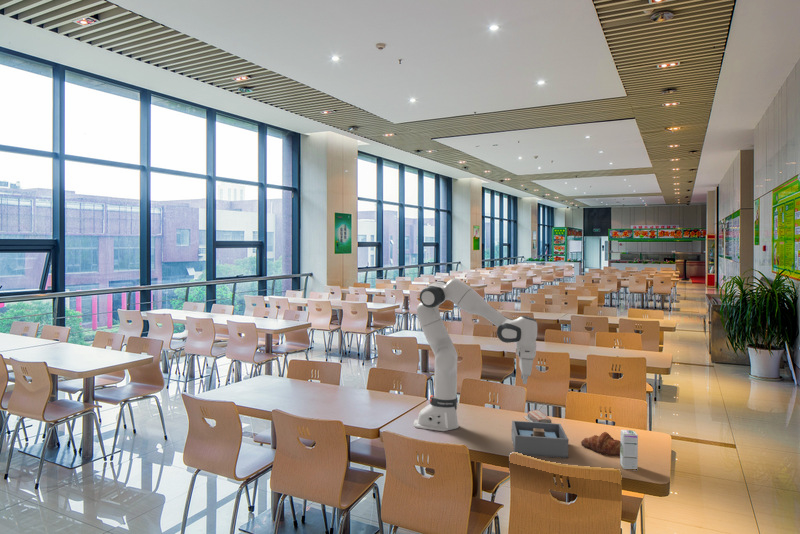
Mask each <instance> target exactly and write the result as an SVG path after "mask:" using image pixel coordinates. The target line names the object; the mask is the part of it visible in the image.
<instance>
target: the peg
mask: <svg viewBox="0 0 800 534" xmlns="http://www.w3.org/2000/svg"><path fill="white" fill-rule="evenodd" d="M533 436H536V437H545V432H544V429H538V428H533Z"/></svg>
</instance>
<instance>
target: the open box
mask: <svg viewBox="0 0 800 534" xmlns="http://www.w3.org/2000/svg"><path fill="white" fill-rule="evenodd" d="M533 428H538V429H544V432H545V437H536V436H533ZM563 428H564V427H563V426H562V424H561V423H555V422H554V423H552V422H551V423H540V422H529V421H523V420H521V421H520V420H511V442H513V443H512V447H514V448H513V452H518V453H522V454H526V455H525V456H529V457H530V456H534V457H545V458H546V457H547V458H556V457H561V458H560V459H569V438H568V435H567V434H566V432H565V430H564V429H563Z"/></svg>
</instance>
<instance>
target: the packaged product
mask: <svg viewBox="0 0 800 534" xmlns="http://www.w3.org/2000/svg"><path fill="white" fill-rule="evenodd" d="M524 417H525V418H526V420H527V422H540V423H552V419H551V418H549V417H548V416H547V415H546V414H544V413H543V412H542V411H541V410H538V409H534V410H531V411H530V410H529V411H527V415H526V416H525V415H524V416H523V418H524ZM525 418H524V419H525Z"/></svg>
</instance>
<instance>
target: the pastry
mask: <svg viewBox="0 0 800 534" xmlns="http://www.w3.org/2000/svg"><path fill="white" fill-rule="evenodd" d="M580 444H581V446H582V447H584V448H586V449H588V450H592V451H593V452H596V453H597V454H600V453H601V454H602V455H606V454H607V455H606V456H617V455H618V456H619V457H620V440H618V439H614V438H613V437H612V436H611V435H610V434H609V432H606V431H604V432H601V433H600V435H597V434H594V435H592V436H590V437H585V438H583V439H582V441H580Z"/></svg>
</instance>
